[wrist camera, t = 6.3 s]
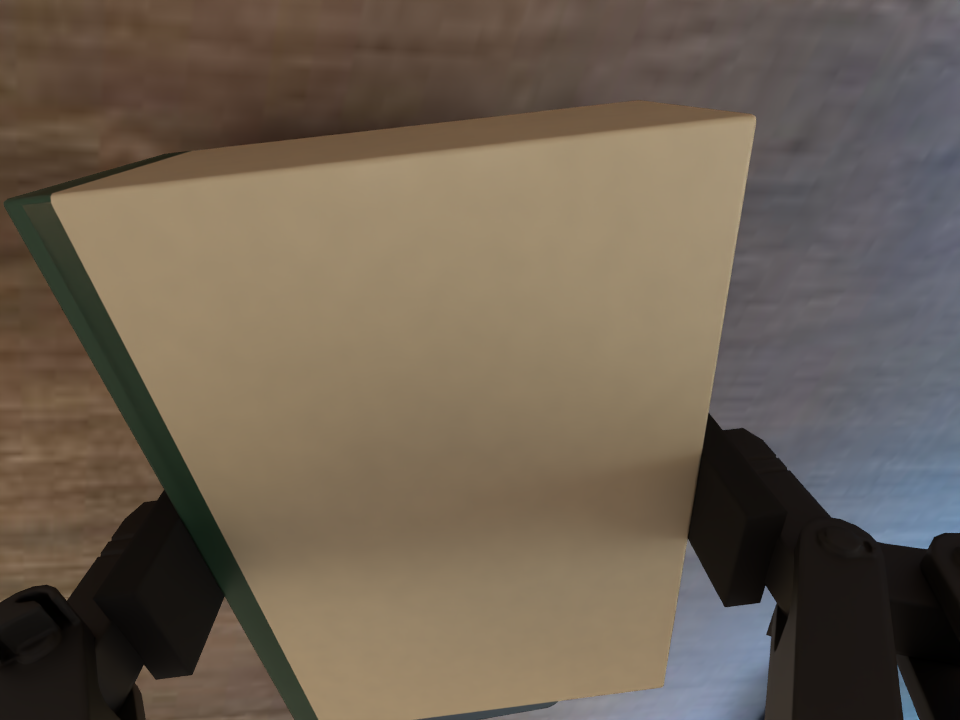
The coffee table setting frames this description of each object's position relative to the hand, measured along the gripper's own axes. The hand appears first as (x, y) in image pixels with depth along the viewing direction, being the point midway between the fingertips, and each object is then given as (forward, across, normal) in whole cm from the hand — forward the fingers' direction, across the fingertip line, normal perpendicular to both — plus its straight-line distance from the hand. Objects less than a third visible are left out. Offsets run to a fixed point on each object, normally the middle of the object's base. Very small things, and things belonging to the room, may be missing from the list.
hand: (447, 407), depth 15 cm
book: (0, 0, 0) cm, 0 cm away
